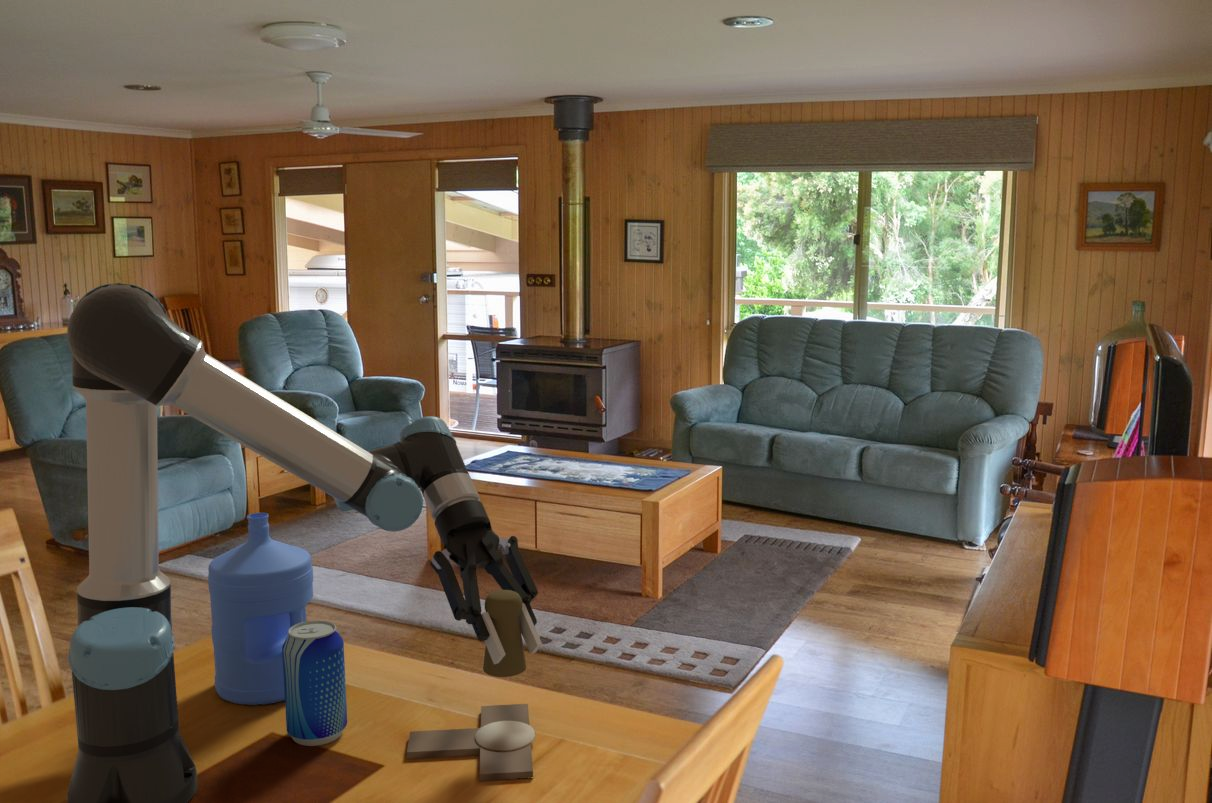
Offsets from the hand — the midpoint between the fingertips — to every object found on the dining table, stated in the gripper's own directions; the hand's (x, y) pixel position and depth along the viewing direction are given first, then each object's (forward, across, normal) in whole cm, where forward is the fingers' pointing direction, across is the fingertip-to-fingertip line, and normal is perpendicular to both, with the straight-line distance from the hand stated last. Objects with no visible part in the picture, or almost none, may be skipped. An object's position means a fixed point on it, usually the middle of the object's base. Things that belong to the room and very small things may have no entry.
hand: (518, 653), depth 142 cm
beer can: (-5, +21, -26) cm, 34 cm away
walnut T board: (+6, +4, -15) cm, 16 cm away
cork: (0, 0, -5) cm, 5 cm away
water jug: (-20, +21, -41) cm, 50 cm away
